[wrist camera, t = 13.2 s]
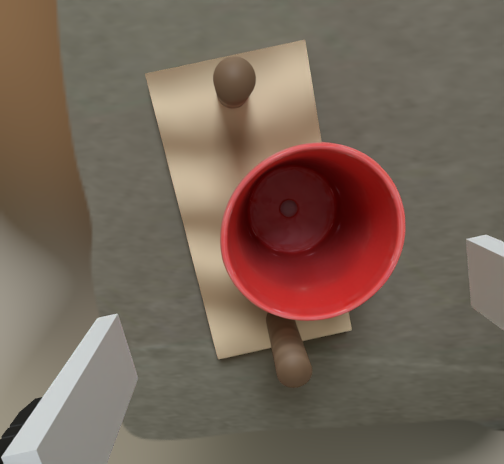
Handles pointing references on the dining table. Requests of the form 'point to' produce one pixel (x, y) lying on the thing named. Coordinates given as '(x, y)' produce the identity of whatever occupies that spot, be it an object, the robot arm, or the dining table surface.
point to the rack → (237, 180)
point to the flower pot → (312, 231)
